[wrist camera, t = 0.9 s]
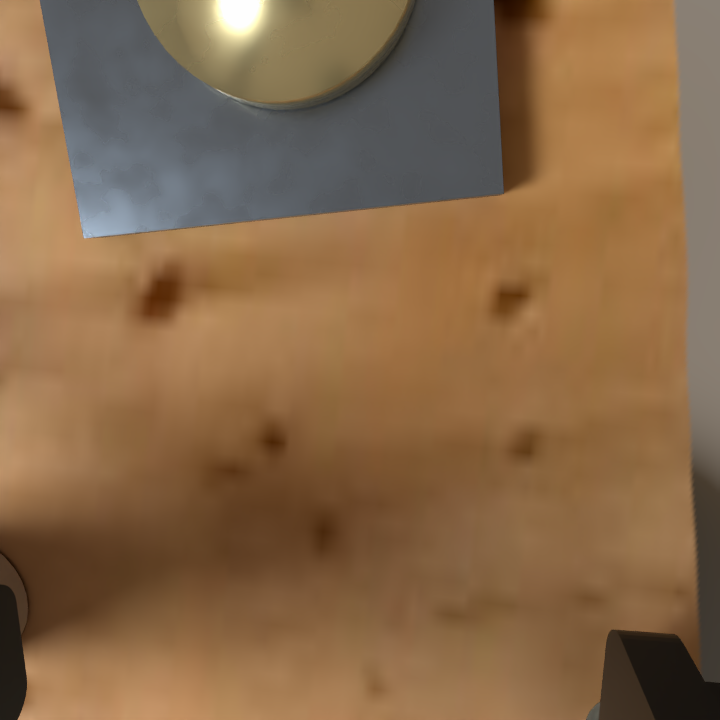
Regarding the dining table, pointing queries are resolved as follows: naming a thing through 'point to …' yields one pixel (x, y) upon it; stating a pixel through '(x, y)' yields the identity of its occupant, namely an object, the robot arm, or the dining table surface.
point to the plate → (270, 126)
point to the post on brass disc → (279, 45)
